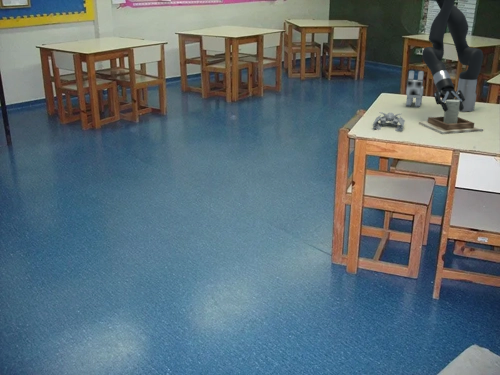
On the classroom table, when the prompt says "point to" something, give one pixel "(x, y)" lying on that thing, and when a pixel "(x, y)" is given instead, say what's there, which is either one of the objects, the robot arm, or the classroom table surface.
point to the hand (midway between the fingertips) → (454, 110)
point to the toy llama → (414, 89)
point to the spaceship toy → (390, 118)
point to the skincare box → (451, 111)
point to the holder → (450, 125)
